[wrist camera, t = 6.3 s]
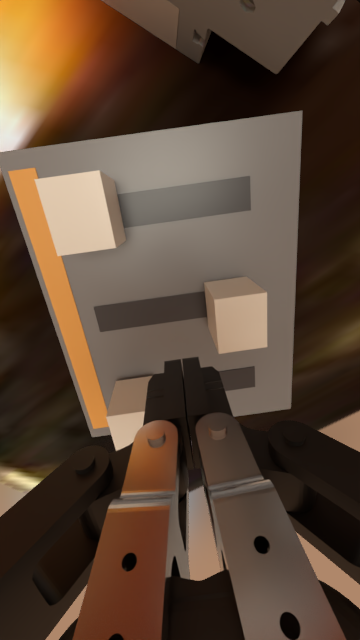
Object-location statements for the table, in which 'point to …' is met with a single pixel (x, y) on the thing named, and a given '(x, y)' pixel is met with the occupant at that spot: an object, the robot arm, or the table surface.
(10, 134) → the table surface
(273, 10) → the circuit breaker
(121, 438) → the handle
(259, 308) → the handle
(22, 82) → the table surface
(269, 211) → the slider control panel
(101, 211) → the handle
